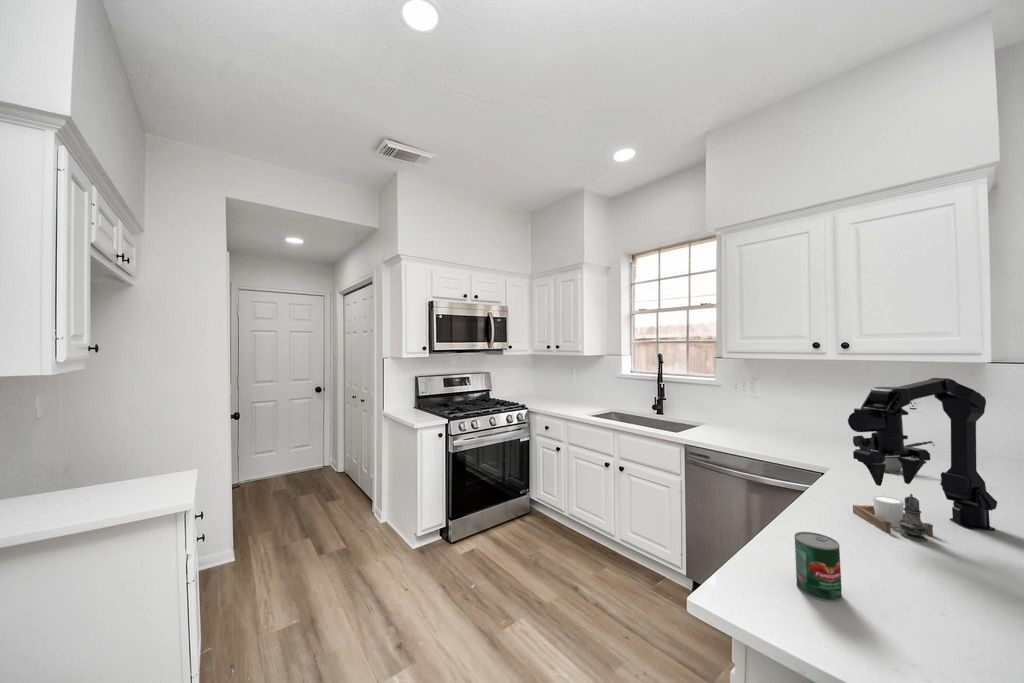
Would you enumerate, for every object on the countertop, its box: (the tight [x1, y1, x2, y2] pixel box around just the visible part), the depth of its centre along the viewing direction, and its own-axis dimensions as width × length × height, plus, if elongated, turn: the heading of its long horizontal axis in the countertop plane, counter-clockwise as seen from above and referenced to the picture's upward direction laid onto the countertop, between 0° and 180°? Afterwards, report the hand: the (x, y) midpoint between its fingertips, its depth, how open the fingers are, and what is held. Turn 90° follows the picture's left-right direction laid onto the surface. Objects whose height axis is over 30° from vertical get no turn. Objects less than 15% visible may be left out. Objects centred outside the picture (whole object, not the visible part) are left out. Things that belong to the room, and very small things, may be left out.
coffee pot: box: [873, 440, 936, 473], centre depth 166 cm, size 21×12×15 cm, turn 32°
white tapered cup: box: [871, 495, 905, 528], centre depth 118 cm, size 7×7×7 cm
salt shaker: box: [898, 493, 928, 543], centre depth 109 cm, size 6×6×12 cm
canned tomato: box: [793, 531, 843, 603], centre depth 85 cm, size 8×8×11 cm
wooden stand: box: [852, 504, 934, 537], centre depth 117 cm, size 11×15×3 cm
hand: (892, 484), depth 113 cm, fingers open, 9 cm apart
